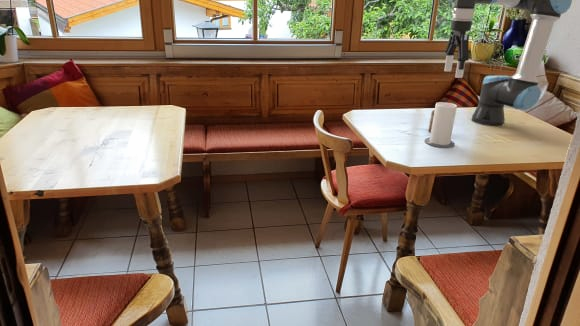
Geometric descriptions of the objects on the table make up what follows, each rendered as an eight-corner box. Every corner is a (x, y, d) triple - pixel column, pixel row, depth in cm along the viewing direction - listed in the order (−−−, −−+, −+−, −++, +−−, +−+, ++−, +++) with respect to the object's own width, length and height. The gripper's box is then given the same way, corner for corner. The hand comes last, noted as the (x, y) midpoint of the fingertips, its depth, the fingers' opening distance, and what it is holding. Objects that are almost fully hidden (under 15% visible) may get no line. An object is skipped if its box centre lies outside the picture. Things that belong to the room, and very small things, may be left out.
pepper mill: (434, 130, 198) (438, 108, 194) (439, 132, 194) (443, 110, 190) (426, 130, 197) (430, 108, 193) (431, 133, 193) (435, 110, 189)
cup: (451, 145, 176) (458, 107, 170) (430, 143, 177) (437, 106, 171) (448, 139, 184) (455, 103, 178) (428, 137, 185) (434, 101, 179)
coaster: (443, 138, 188) (444, 136, 187) (460, 147, 177) (460, 145, 176) (419, 139, 185) (419, 137, 184) (434, 148, 174) (434, 147, 174)
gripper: (442, 17, 179) (434, 68, 187) (463, 22, 156) (454, 80, 164) (460, 18, 179) (452, 69, 187) (484, 22, 156) (473, 80, 164)
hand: (453, 74), depth 176 cm, fingers open, 13 cm apart
